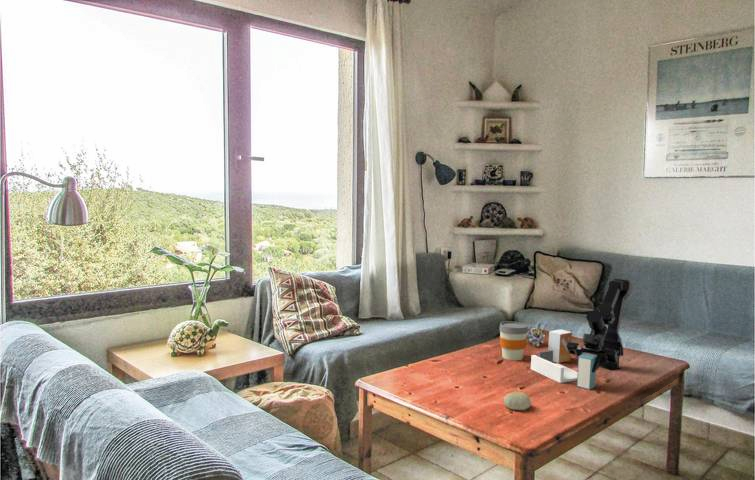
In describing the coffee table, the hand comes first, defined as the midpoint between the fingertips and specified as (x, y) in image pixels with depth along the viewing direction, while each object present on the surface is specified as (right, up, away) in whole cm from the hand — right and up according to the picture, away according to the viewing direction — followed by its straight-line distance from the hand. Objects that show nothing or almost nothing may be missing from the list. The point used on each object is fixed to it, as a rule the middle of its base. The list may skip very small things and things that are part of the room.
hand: (585, 370), depth 220 cm
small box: (+1, -3, +34) cm, 35 cm away
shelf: (-5, -5, +16) cm, 17 cm away
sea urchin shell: (-31, -8, -20) cm, 38 cm away
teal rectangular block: (+1, -6, +2) cm, 7 cm away
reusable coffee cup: (-19, -3, +37) cm, 42 cm away
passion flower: (-5, -1, +59) cm, 59 cm away
